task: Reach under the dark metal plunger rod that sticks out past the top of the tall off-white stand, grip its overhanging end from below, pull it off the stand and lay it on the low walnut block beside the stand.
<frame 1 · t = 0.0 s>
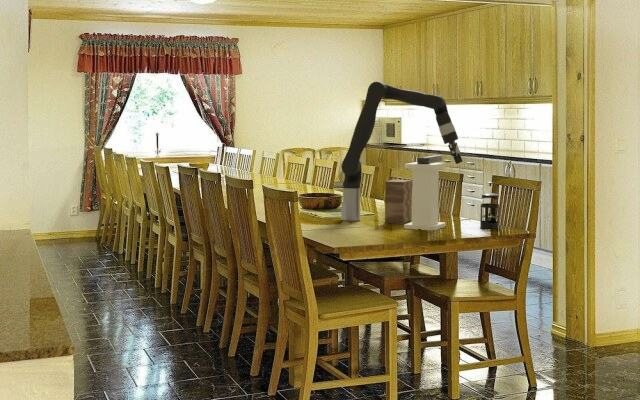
hand: (459, 162, 425), 31 cm above the table, tool tilted 20°, fingers open, 8 cm apart
tall stand: (425, 227, 417), on the table
low block: (398, 221, 438), on the table
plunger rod: (430, 162, 419), point 32 cm above the table, touching tall stand
french press: (489, 228, 413), on the table
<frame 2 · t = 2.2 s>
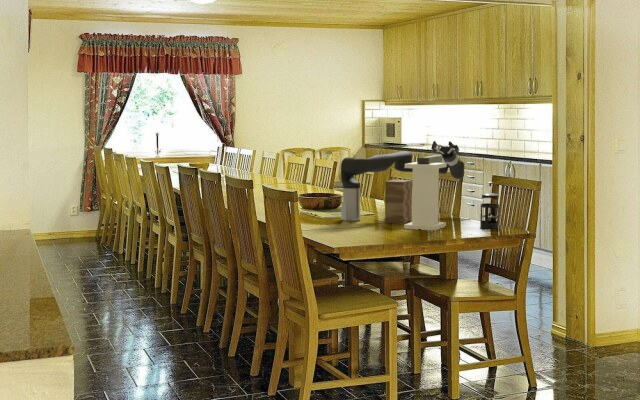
hand: (441, 142, 446), 41 cm above the table, tool pointing upward, fingers open, 8 cm apart
nothing on the table moved.
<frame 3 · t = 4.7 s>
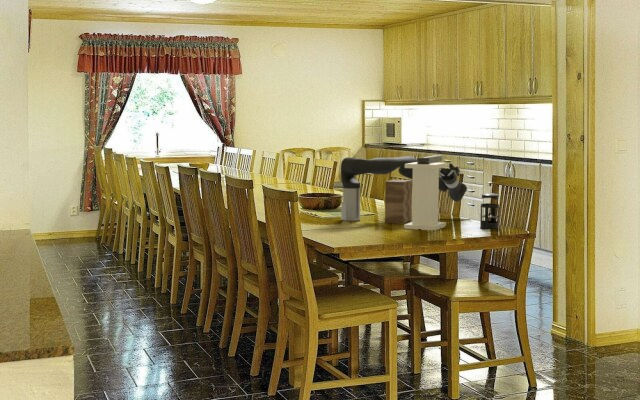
hand: (441, 164, 432), 30 cm above the table, tool pointing upward, fingers open, 8 cm apart
nothing on the table moved.
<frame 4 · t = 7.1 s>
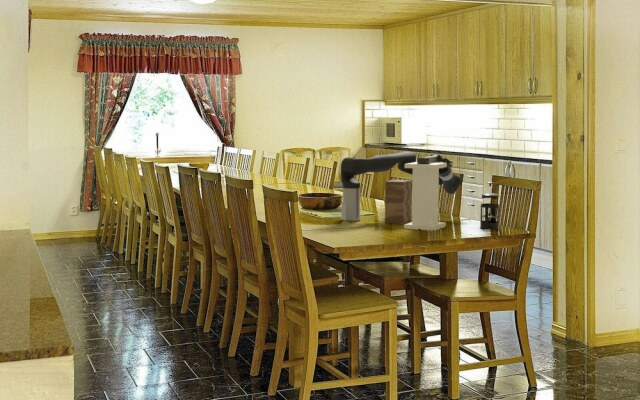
hand: (434, 156, 424), 35 cm above the table, tool pointing upward, fingers closed on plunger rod, 3 cm apart
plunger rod: (430, 162, 419), point 32 cm above the table, touching gripper, tall stand
everything else where it was.
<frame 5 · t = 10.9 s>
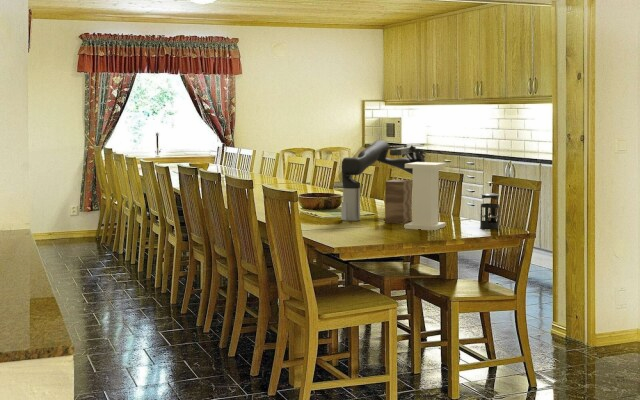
hand: (408, 147, 441), 39 cm above the table, tool pointing upward, fingers closed on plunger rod, 3 cm apart
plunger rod: (403, 153, 436), point 36 cm above the table, touching gripper
everything else where it was.
when the fingers open (26 cm above the table, at t = 14.6 s): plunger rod moves 1 cm, resting on low block.
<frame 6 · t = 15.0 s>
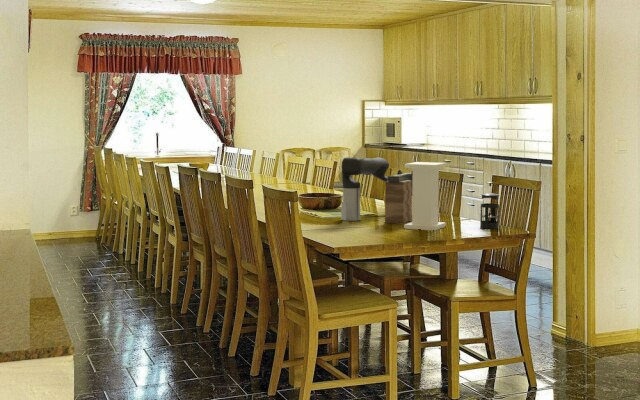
hand: (405, 171, 444), 26 cm above the table, tool pointing upward, fingers open, 7 cm apart
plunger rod: (401, 180, 438), point 21 cm above the table, touching low block
everything else where it was.
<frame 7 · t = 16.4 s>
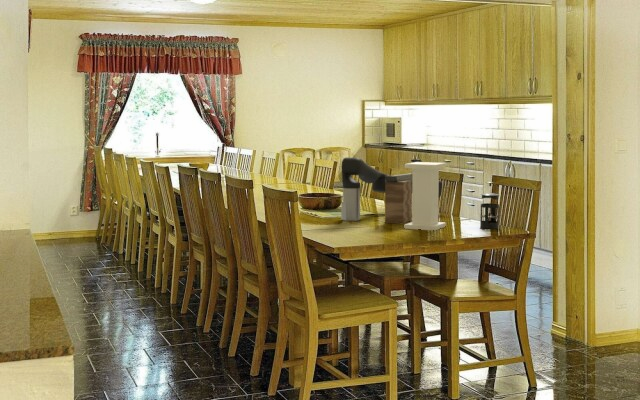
hand: (409, 167, 447), 27 cm above the table, tool pointing upward, fingers open, 8 cm apart
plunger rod: (402, 180, 438), point 22 cm above the table, touching gripper, low block
everything else where it was.
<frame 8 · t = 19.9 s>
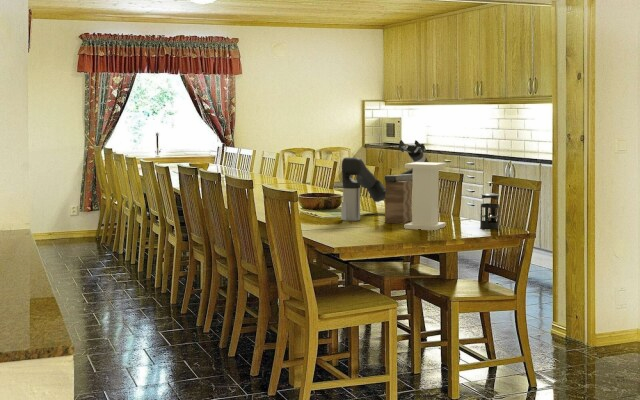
hand: (408, 141, 455), 41 cm above the table, tool pointing upward, fingers open, 8 cm apart
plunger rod: (404, 180, 438), point 21 cm above the table, touching low block
everything else where it was.
at the end: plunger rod inside the target area on the low block (1.9 cm from its centre), point 21.5 cm above the low block's base; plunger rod touching low block; the gripper is holding nothing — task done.
